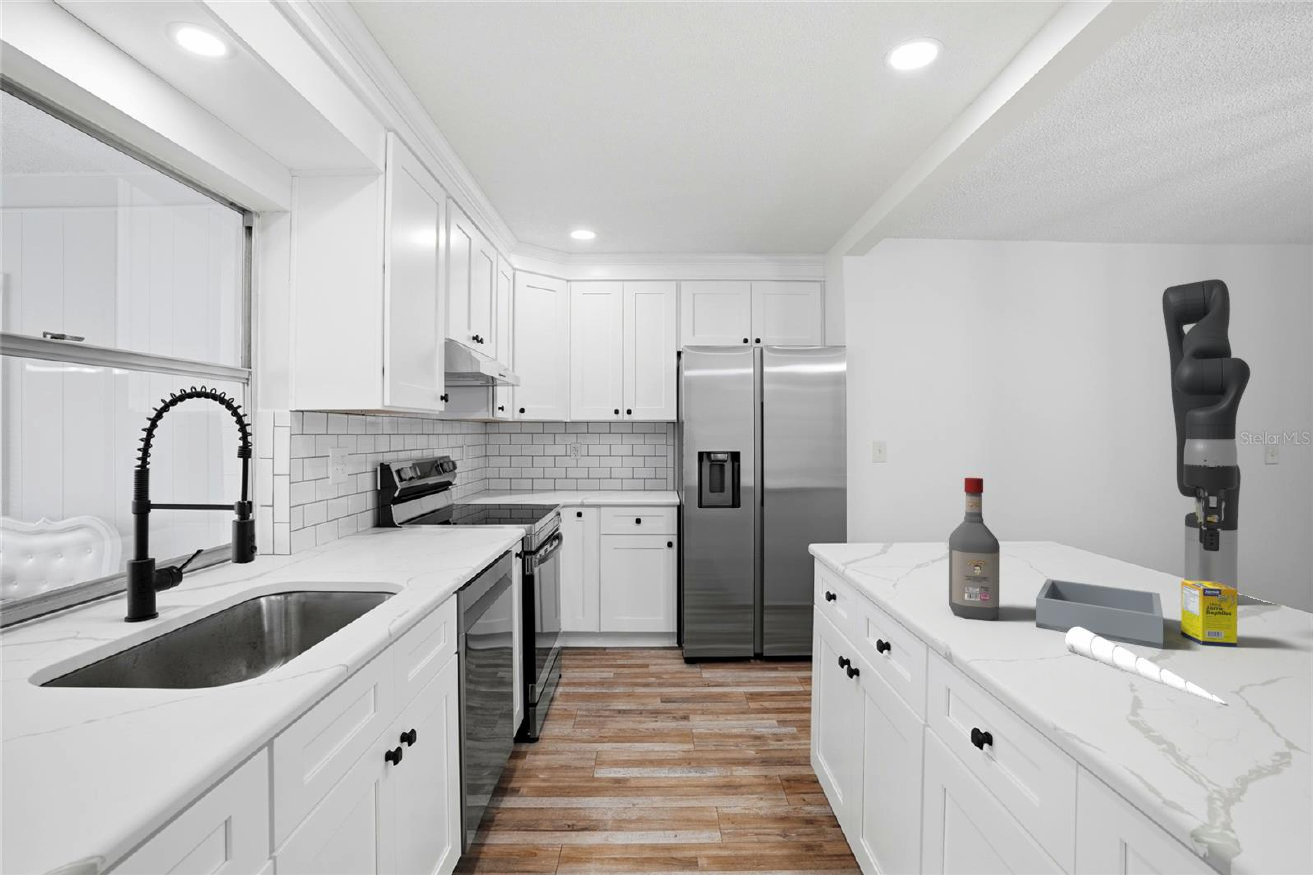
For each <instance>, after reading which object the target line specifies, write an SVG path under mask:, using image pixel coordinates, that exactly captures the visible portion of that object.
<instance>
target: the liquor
mask: <svg viewBox="0 0 1313 875" xmlns="http://www.w3.org/2000/svg"><path fill="white" fill-rule="evenodd" d="M963 492H964V493H965V510H964V512H965V513H964V518H963V521H962V522H961V523H960V524H959V525H958V526H957V527H956V528H955V529H954V530H953V531H952V532H951V533H950V536H949V538H948V606H949V608H950V609H951V612H952V614H953V615H954V616H956V617H959V618H963V619H967V620H968V619H969V620H977V621H978V620H979V621H981V620H982V621H993V620H997V619H998V618H999V616H1000V558H1001V556H1000V555H1001V554H1000V553H1001V552H1000V551H1001V550H1000V549H1001V548H1000V547H1001V546H1000V543H999V539H998V538H997V537H996V536H995V535H994V534H993V533H992V531H991V530H990V529H989V528H988V526H987V525H986V524H985V523H984V518H983V493H984V478H982V477H964V490H963Z"/></svg>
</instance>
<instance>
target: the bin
mask: <svg viewBox="0 0 1313 875" xmlns="http://www.w3.org/2000/svg"><path fill="white" fill-rule="evenodd" d="M1163 613H1164V612H1163V607H1162V601H1161V594H1160V593H1159V592H1153V591H1152V592H1151V591H1146V590H1145V591H1143V590H1137V589H1136V590H1135V589H1131V588H1130V589H1129V588H1122V587H1116V586H1115V587H1114V586H1105V585H1097V584H1090V583H1083V582H1075V581H1067V580H1060V579H1059V580H1058V579H1051V578H1046V579H1045V581H1044V583H1043V585H1042V587H1041V589H1040V590H1039V592H1038V594H1037V596H1035V627H1036V628H1039V629H1045V630H1052V631H1058V632H1063V633H1066V634H1067V633H1068V631H1069V630H1070V629H1072V628H1073V627H1081V628H1084V629H1086V630H1088V631H1090V632H1092V633H1094V634H1096V635H1098V636H1099V637H1102V638H1104V639H1106V640H1108V641H1112V642H1113V641H1115V642H1119V643H1126V644H1133V645H1138V646H1143V647H1148V648H1155V649H1159V650H1160V649H1161V650H1164V614H1163Z"/></svg>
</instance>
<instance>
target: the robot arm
mask: <svg viewBox="0 0 1313 875" xmlns="http://www.w3.org/2000/svg"><path fill="white" fill-rule="evenodd" d="M1161 304H1162V312H1163V318H1164V319H1163V320H1164V326H1165V332H1166V337H1167V338H1166V339H1167V344H1168V352H1169V363H1170V380H1171V381H1170V386H1171V388H1170V389H1171V400H1172V402H1171V403H1172V406H1173V409H1172V410H1173V416H1174V424H1175V425H1174V426H1175V433H1176V434H1175V435H1176V483H1177V488H1178V491H1179V493H1180V494H1181V496H1184V497H1188V498H1194V505H1195V511H1193V512H1189V513H1186V515H1185V518H1184V578H1183V580H1186V581H1208V582H1217V583H1220V584H1222V585H1225V586H1228V587H1231V588H1234V589H1237V590H1238V549H1239V548H1238V544H1239V543H1238V539H1239V538H1238V534H1239V533H1238V532H1239V530H1238V529H1239V525H1238V524H1239V502H1240V490H1241V489H1240V488H1241V479H1242V478H1241V477H1242V476H1241V469H1240V467H1239V465H1238V448H1237V443H1236V435H1237V432H1236V431H1237V428H1236V426H1237V425H1236V424H1237V417H1238V416H1237V414H1238V410H1239V407H1240V403H1241V400H1242V397H1243V395H1244V393H1245V391H1246V388H1247V386H1248V383H1249V380H1250V377H1251V369H1250V366H1249V364H1248V363H1247V361H1245V360H1244V359H1242V358H1239V357H1232V356H1233V352H1232V348H1231V344H1230V338H1229V327H1230V317H1231V316H1230V314H1231V312H1230V311H1231V302H1230V293H1229V288H1228V286H1227V283H1225V282H1224V280H1222V279H1205V280H1201V281H1195V282H1190V283H1183V284H1177V285H1173V286H1172V285H1171V286H1168V287H1167V288H1165V289H1164V291H1163V294H1162V302H1161ZM1187 325H1193V326H1192V327H1191V328H1189V329H1188V331H1187V332H1185V330H1184V327H1185V326H1187Z"/></svg>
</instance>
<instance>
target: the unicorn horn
mask: <svg viewBox="0 0 1313 875" xmlns="http://www.w3.org/2000/svg"><path fill="white" fill-rule="evenodd" d="M1064 644H1065V646H1066V649H1067V650H1068V651H1069V652H1071V653H1075V654H1078V655H1080V656H1083V657H1084V658H1088V659H1090V660H1093V661H1095V662H1097V661H1098V662H1099V663H1102V664H1104V665H1107V666H1110V667H1113V668H1116V669H1120V670H1121V671H1124V672H1126V673H1130V674H1133V675H1136V676H1139V677H1142V678H1144V679H1147V680H1150V681H1152V682H1155V683H1157V684H1160V685H1164V686H1168V687H1169V688H1172V689H1175V690H1178V691H1181V692H1184V693H1187V694H1190V695H1194V696H1195V697H1199V698H1202V699H1204V700H1208V701H1210V702H1214V703H1217V704H1223V705H1228V703H1227V702H1226V701H1225V700H1224V699H1221V698H1219V697H1218V696H1217V695H1214V694H1212V693H1211V692H1209V691H1207V690H1206V689H1204V688H1203V687H1200V686H1198V685H1197V684H1194V683H1193V682H1191V681H1186V679H1185V678H1183V677H1181V676H1179V675H1177V674H1175V673H1174V672H1172V671H1169V670H1167V669H1165V668H1164V669H1163V668H1162V667H1161V666H1160V665H1158V664H1156V663H1154V662H1152V661H1151V660H1148V659H1146V658H1144V657H1140V656H1139V655H1138V654H1136V653H1134V652H1132V651H1131V650H1128V649H1126V648H1124V647H1122V646H1119V645H1118V644H1116V643H1114V642H1113V641H1111V640H1108V639H1104V638H1102V637H1099V636H1098V635H1096V634H1094V633H1092V632H1090V631H1088V630H1086V629H1084V628H1081V627H1073V628H1072V629H1070V630H1069V631H1068V633H1067V632H1066V635H1065V640H1064Z"/></svg>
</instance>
